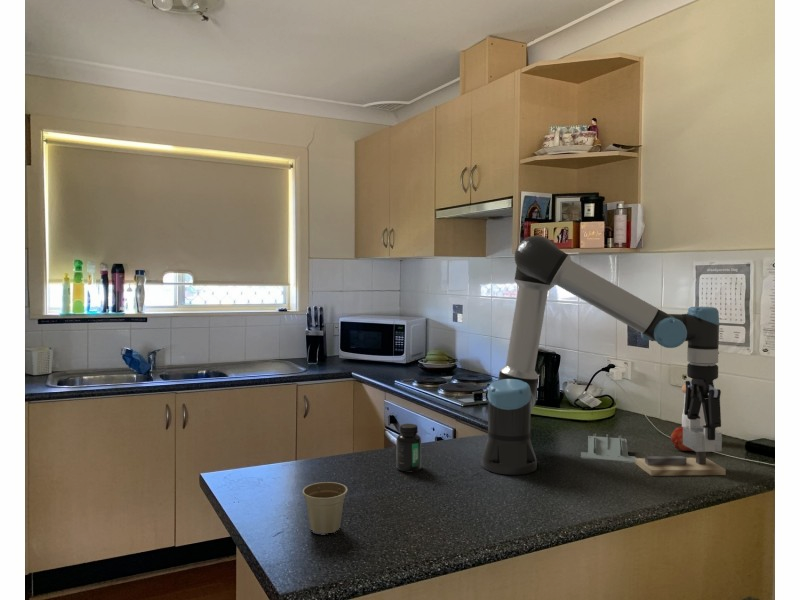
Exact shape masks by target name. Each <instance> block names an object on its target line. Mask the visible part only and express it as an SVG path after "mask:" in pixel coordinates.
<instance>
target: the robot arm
mask: <svg viewBox="0 0 800 600" xmlns="http://www.w3.org/2000/svg"><path fill="white" fill-rule="evenodd" d="M514 263H515V265H516V268H515V274H514V282H515V284H517V286H518V289H517V294H516V295H517V296H516V302H515V305H514V306H515V307H514V308H515V309H514V313H513V319H512V326H511V332H510V337H509V344H508V349H507V357H506V362H505V365H504V366H503V367H501V368H500V369H499V372H498V379H497V380H495V381H492V382H491V383H490V384H489V386H488V391H487V440H486V442H485V446H484V448H483V452H482V455H481V466H482V468H483V469H484V470H487V471H488V472H491V473H495V474H498V475H499V474H500V475H510V476H514V475H515V476H518V475H519V476H521V475H526V474H531V473H533V472H535V471H536V470H537V463H538V462H537V461H538V460H537V457H536V456H537V455H536V453H535V450H534V447H533V444H532V440H531V413H532V412H533V409H534V408H535V405H536V403H537V401H538V400H537V398H538V395H537V393H538V392H537V390H538V385H539V380H540V378H539V377H540V376H539V374H538V372H537V371H536V365H537V359H538V353H539V346H540V340H541V334H542V331H543V330H542V329H543V324H544V319H545V318H544V317H545V311H546V305H547V299H548V294H549V293H548V292H549V291H550V290H551V289H553V288H554V287H555V286H558V287H560V288H561V289H563V290H565V291H566V292H568V293H571V294H572V295H574V296H575V297H577V298H579V299H581V300H583V301H585V303H588V304H589V305H591V306H593V307H595V308H597V309H598V310H600V311H602V312H604V313H605V314H607V315H608V316H610V317H612V318H614V319H615V320H618V321H620V322H621V323H623V324H625V325H627V326H629V327H630V328H632V329H634V330H635V331H637V332H639V333H640V337H641V339H642V340H644V341H651V342H656V343H657V344H658V345H660V346H661V347H664V348H667V349H673V348H674V349H676V348H678V347H680V346H681V345H683V343H685V342H687V352H686V353H687V360H686V361H687V362H688V364H686V365H687V367H686V368H687V369H686V370H687V371H686V376H687V377H688V378H690V379H691V380H685V382H684V384H686V396H685V408H684V407H683V409H684V414H685V415H687V417H688V419H689V426H700V420H699V419H700V416H699V411H700V407H701V403H702V406H703V412H704V418H705V426H703V427H704V442H703V451H705V452H706V453H707V452H708V453H709V452H713V453H714V452H716V451H715V430H717V428H721V427H722V416H721V414H722V412H721V393H722V391H721V389H718V388H717V389H716V388H715V384H714V380H718V379H719V366H718V365H717V363H719V354H720V351H719V342H720V341H719V340H720V325H721V324H720V315H719V314H720V313H719V309H718V308H716V307H714V306H689V307H688V308H687V309H688V310H687V313H682V314H680V313H667V312H665V311H663V310H661V309H659V308H657V307H656V306H655V305H652V304H651V303H648V302H647V301H645V300H643V299H642V298H639V297H638V296H636V295H634V294H632V293H630V292H628V291H627V290H625V289H623V288H621V287H620V286H618V285H616V284H614V283H613V282H610V281H609V280H607V279H606V278H603V277H602V276H600V275H599V274H596V273H594V272H593V271H591V270H589V269H587V268H585V267H584V266H582V265H581V264H579V263H577V262H574V261H573V260H572V258H571V256H570V254H568V253H567V252H565V251H563V250H561V249H560V248H559V247H558V246H557V245H556V244H555V243H554V242H553V241H552V240H550V239H549V238H547V237H544V236H540V235H532V236H528V237H526V238H524V239H522V241H520V242H519V243H518V245H517V246H516V248H515V252H514ZM688 410H689V411H688Z"/></svg>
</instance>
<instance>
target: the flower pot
mask: <svg viewBox="0 0 800 600" xmlns="http://www.w3.org/2000/svg"><path fill="white" fill-rule="evenodd" d="M348 490H349V489H348V487H347V486H346V485H345V484H342V483H339V482H335V481H334V482H333V481H327V482H326V481H324V482H323V481H322V482H315V483H311V484H309V485H306V486H305V487H304V488H303V489H302V494H303V496H304V500H305V502H306V507H307V516H308V521H309V522H308V523H309V529H311V530H313V531H315V532H318V533H332V532H335V531H336V530H338V529H339V528H340V529H341V523H342V522H341V521H342V513H343V506H344V501H345V498H346V494H347V493H348ZM340 529H339V530H340ZM311 530H310V531H311Z"/></svg>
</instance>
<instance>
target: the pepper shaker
mask: <svg viewBox="0 0 800 600" xmlns="http://www.w3.org/2000/svg"><path fill="white" fill-rule="evenodd" d="M681 391H682V393H684V395H683V398H684V399H683V410H682V415H681V427H686V426H689V419H688V417H687V415H685V414H684V408H685V396H686V384H685V383H684V384H682V386H681ZM688 411H689V410H688ZM699 416H700V419H699V420H700V426H705V425H706V424H705V418H704V412H703V406H702V403H701V407H700V411H699Z"/></svg>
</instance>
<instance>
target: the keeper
mask: <svg viewBox="0 0 800 600" xmlns="http://www.w3.org/2000/svg"><path fill="white" fill-rule="evenodd" d="M634 464H635V465H637V466H638V467H639V468H640V469H642V470H643V471H644V472H646V473H647V474H648V475H650V476H651V477H653V476H654V477H657V476H658V477H659V476H661V477H662V476H666V477H667V476H726V473H727V472H726V471H727V470H726V468H725V467H723V466H720V465H719V464H717V463H715V462H714V461H713V460H710V459H709V458H707V452H695V457H685V456H684V455H670V456H669V455H658V456H656V455H654V456H653V455H651V456H650V455H649V456H648V455H647V456H644V457H643V458H640V457H636V458H635V463H634Z"/></svg>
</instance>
